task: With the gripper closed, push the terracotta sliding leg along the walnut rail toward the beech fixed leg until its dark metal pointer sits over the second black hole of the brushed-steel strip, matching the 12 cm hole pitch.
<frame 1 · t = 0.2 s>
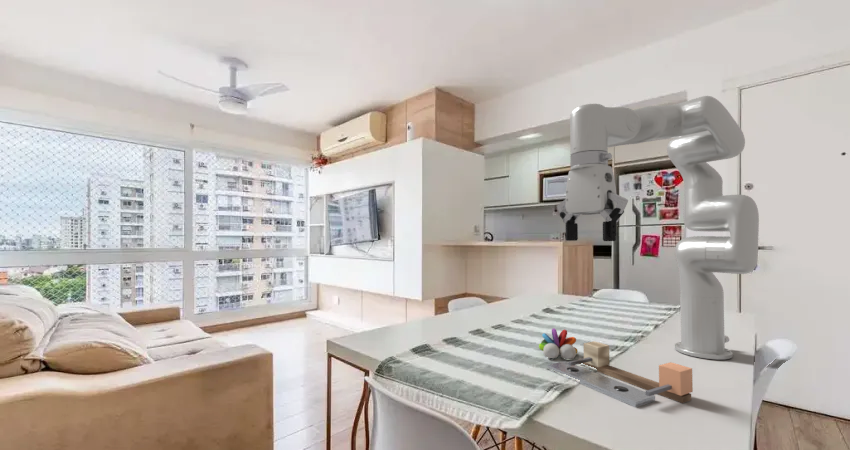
hand: (589, 240, 80), 31 cm above the table, fingers open, 9 cm apart
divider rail: (627, 379, 81), on the table
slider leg: (664, 381, 71), point 4 cm above the table, slide at 6.0 cm
bolt-hole strip: (595, 383, 80), on the table
rainbow fan toy: (557, 357, 98), on the table
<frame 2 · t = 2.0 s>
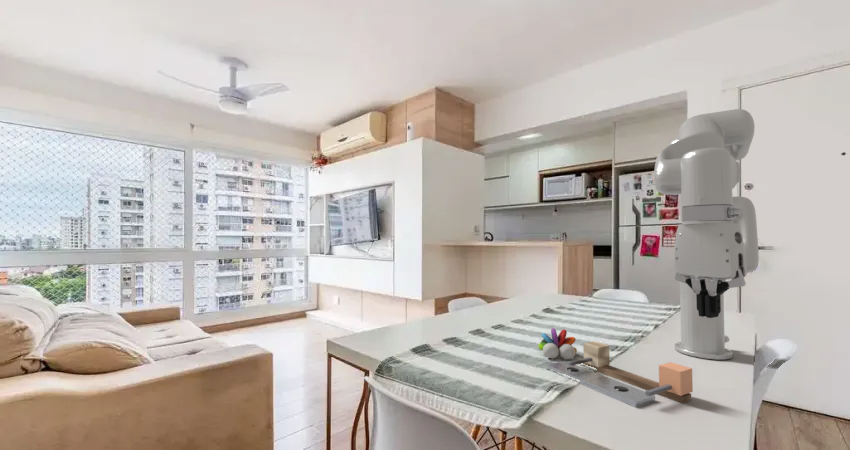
hand: (708, 316, 68), 17 cm above the table, fingers closed
nothing on the table moved.
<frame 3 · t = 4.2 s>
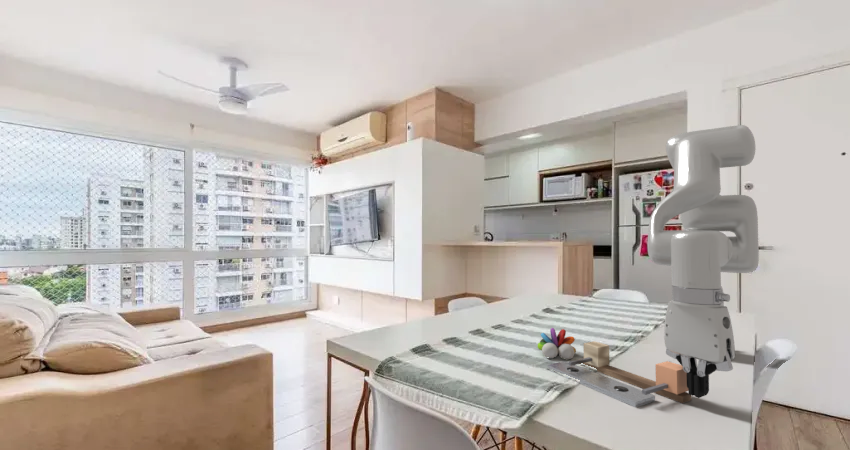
hand: (697, 394, 69), 2 cm above the table, fingers closed
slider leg: (661, 380, 72), point 4 cm above the table, slide at 5.3 cm, touching gripper
everything else where it was.
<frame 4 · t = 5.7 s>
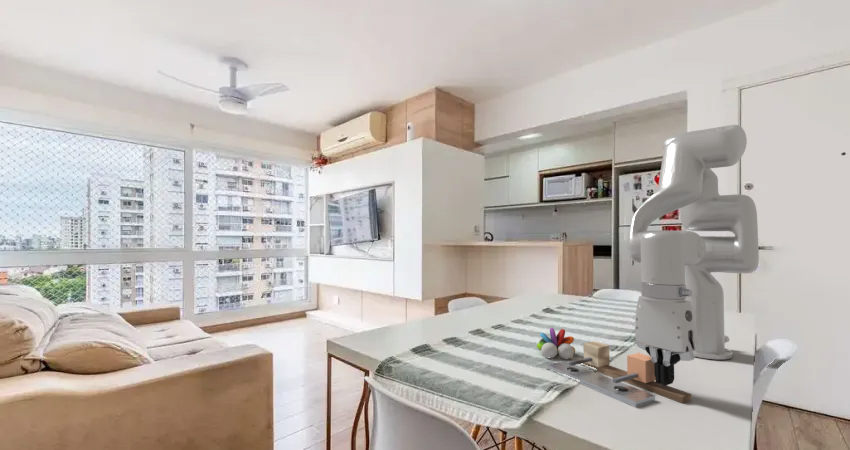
hand: (664, 383, 75), 2 cm above the table, fingers closed
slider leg: (631, 370, 77), point 4 cm above the table, slide at -0.7 cm, touching gripper
everything else where it was.
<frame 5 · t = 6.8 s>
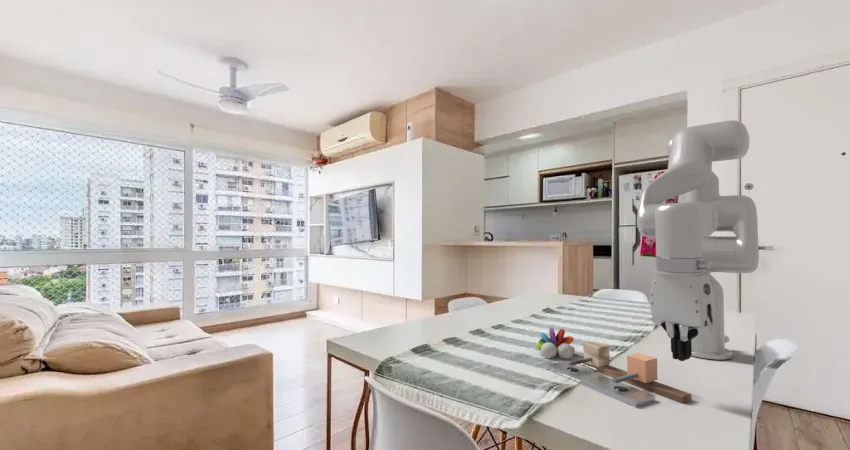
hand: (681, 358, 73), 8 cm above the table, fingers closed
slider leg: (631, 370, 77), point 4 cm above the table, slide at -0.7 cm
everything else where it was.
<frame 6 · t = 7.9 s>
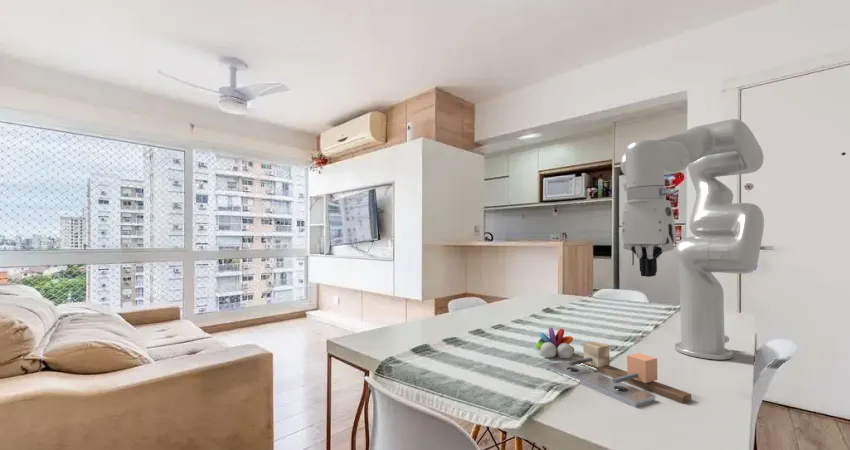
hand: (648, 275, 84), 23 cm above the table, fingers closed
nothing on the table moved.
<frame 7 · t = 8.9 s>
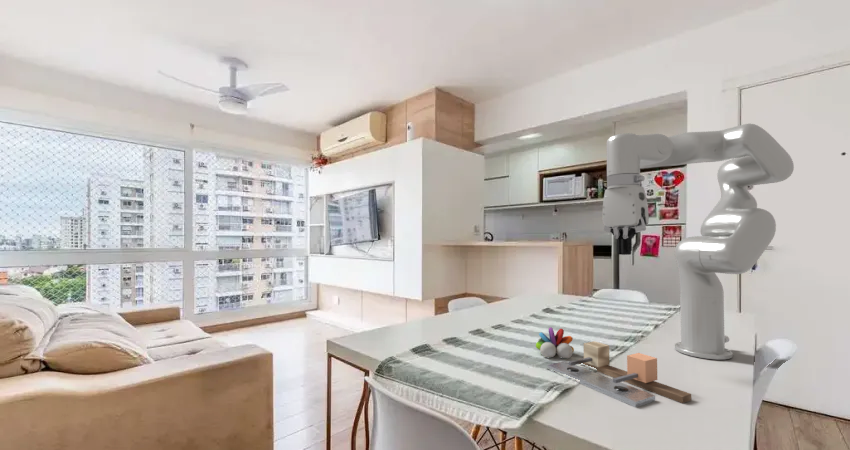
hand: (624, 254, 94), 27 cm above the table, fingers closed
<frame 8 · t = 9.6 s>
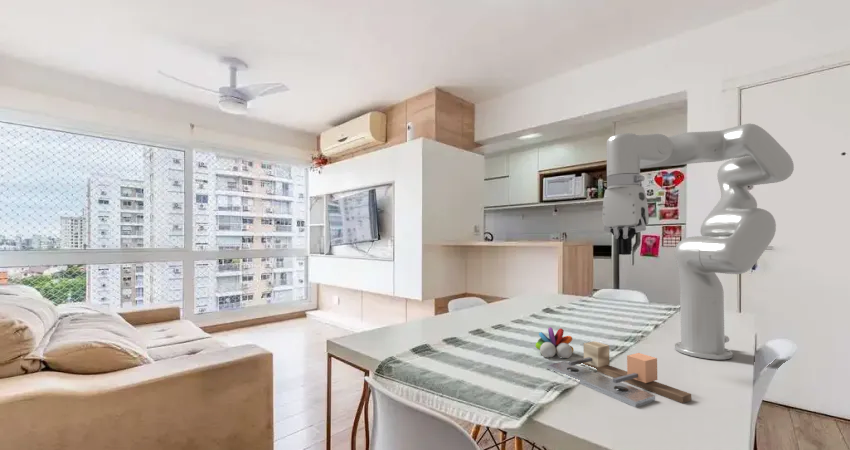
hand: (624, 254, 94), 27 cm above the table, fingers closed
at the end: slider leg slide at -0.7 cm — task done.
